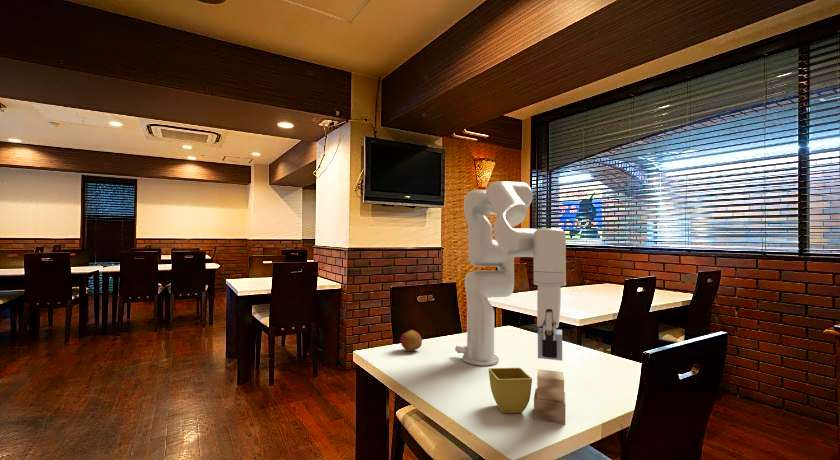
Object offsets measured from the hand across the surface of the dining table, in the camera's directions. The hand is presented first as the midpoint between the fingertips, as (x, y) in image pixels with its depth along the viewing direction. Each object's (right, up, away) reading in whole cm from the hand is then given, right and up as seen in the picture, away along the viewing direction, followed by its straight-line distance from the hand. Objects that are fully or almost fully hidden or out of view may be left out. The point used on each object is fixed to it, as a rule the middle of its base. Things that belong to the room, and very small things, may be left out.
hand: (549, 352), depth 94 cm
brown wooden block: (0, -15, 0) cm, 15 cm away
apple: (-35, -16, +54) cm, 66 cm away
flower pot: (-9, -15, +3) cm, 18 cm away
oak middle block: (0, -10, 0) cm, 10 cm away
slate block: (0, -1, 0) cm, 1 cm away
